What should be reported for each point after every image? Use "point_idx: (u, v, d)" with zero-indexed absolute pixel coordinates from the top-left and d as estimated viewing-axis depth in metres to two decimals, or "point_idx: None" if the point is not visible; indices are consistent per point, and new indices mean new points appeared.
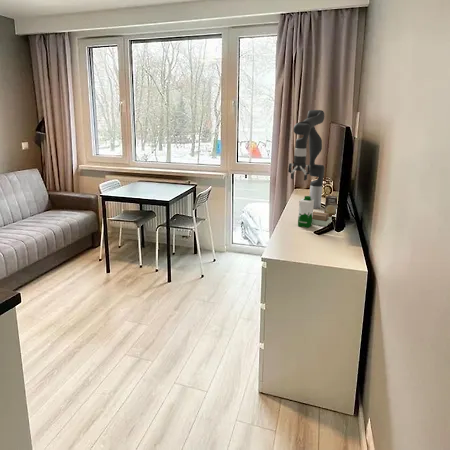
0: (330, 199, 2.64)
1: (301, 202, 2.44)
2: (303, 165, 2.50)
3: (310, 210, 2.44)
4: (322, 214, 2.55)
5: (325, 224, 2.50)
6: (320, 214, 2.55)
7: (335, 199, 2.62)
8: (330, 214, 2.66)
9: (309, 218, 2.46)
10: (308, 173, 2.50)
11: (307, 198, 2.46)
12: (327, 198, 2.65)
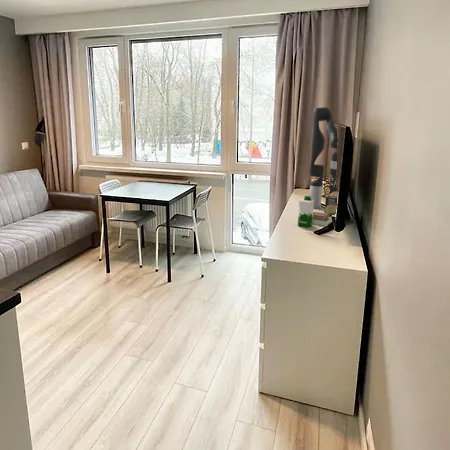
0: (330, 199, 2.64)
1: (301, 202, 2.44)
2: None
3: (310, 210, 2.44)
4: (322, 214, 2.55)
5: (325, 224, 2.50)
6: (320, 214, 2.55)
7: (335, 199, 2.62)
8: (330, 214, 2.66)
9: (309, 218, 2.46)
10: None
11: (307, 198, 2.46)
12: (327, 198, 2.65)
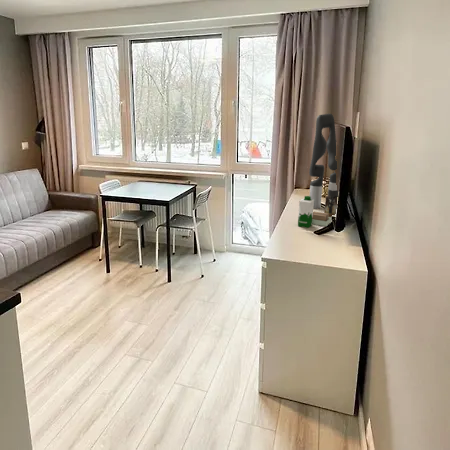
0: None
1: (301, 202, 2.44)
2: None
3: (310, 210, 2.44)
4: (322, 214, 2.55)
5: (325, 224, 2.50)
6: (320, 214, 2.55)
7: (335, 199, 2.62)
8: (330, 214, 2.66)
9: (309, 218, 2.46)
10: None
11: (307, 198, 2.46)
12: (327, 198, 2.65)
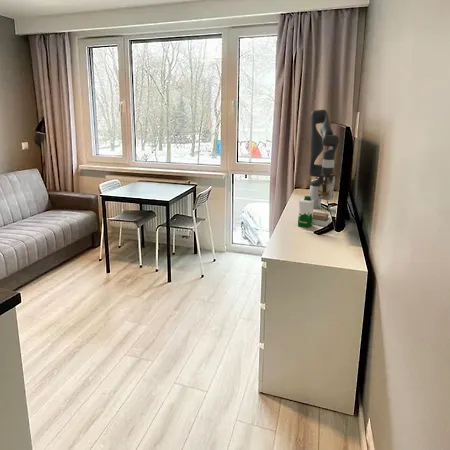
0: None
1: (301, 202, 2.44)
2: None
3: (310, 210, 2.44)
4: (322, 214, 2.55)
5: (325, 224, 2.50)
6: (320, 214, 2.55)
7: (329, 177, 2.48)
8: (324, 193, 2.53)
9: (309, 218, 2.46)
10: None
11: (307, 198, 2.46)
12: (321, 176, 2.51)
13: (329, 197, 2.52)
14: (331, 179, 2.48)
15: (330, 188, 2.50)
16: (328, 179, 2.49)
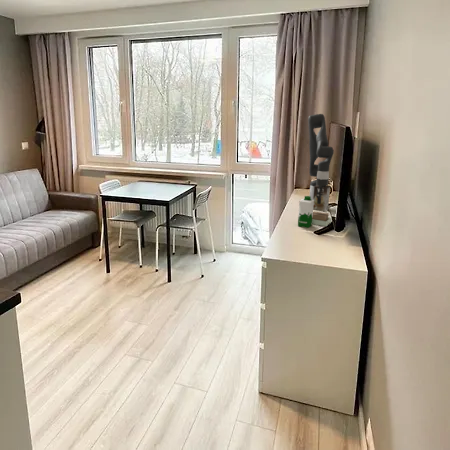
0: None
1: (301, 202, 2.44)
2: None
3: (310, 210, 2.44)
4: (322, 214, 2.55)
5: (325, 224, 2.50)
6: (320, 214, 2.55)
7: (324, 188, 2.48)
8: (319, 204, 2.52)
9: (309, 218, 2.46)
10: None
11: (307, 198, 2.46)
12: (315, 187, 2.50)
13: (324, 208, 2.51)
14: (326, 191, 2.47)
15: (325, 199, 2.49)
16: (323, 191, 2.48)
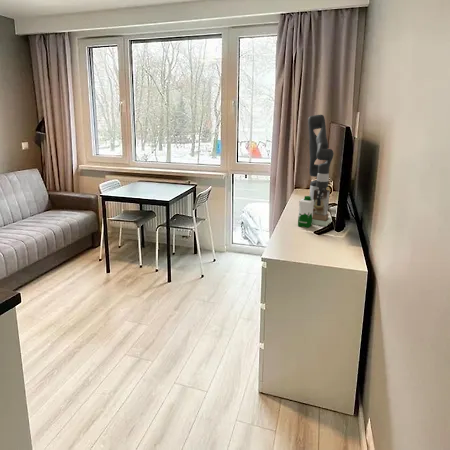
0: None
1: (301, 202, 2.44)
2: (324, 189, 2.54)
3: (310, 210, 2.44)
4: None
5: (325, 224, 2.50)
6: None
7: (324, 192, 2.48)
8: (318, 208, 2.53)
9: (309, 218, 2.46)
10: None
11: (307, 198, 2.46)
12: (315, 191, 2.51)
13: (323, 212, 2.52)
14: (325, 194, 2.48)
15: (324, 203, 2.50)
16: None
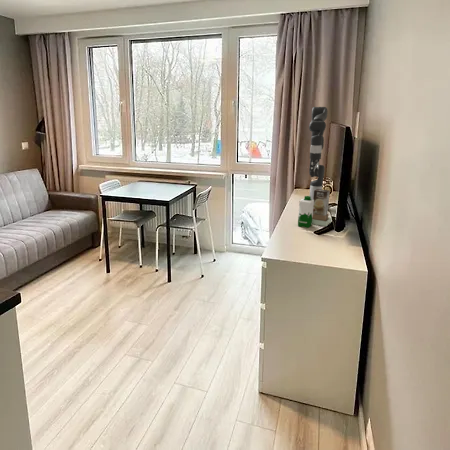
0: (318, 193, 2.50)
1: (301, 202, 2.44)
2: (317, 160, 2.60)
3: (310, 210, 2.44)
4: None
5: (325, 224, 2.50)
6: None
7: (324, 192, 2.48)
8: (318, 208, 2.53)
9: (309, 218, 2.46)
10: (319, 167, 2.65)
11: (307, 198, 2.46)
12: (315, 192, 2.51)
13: (323, 212, 2.52)
14: (325, 195, 2.48)
15: (324, 203, 2.50)
16: (322, 195, 2.49)
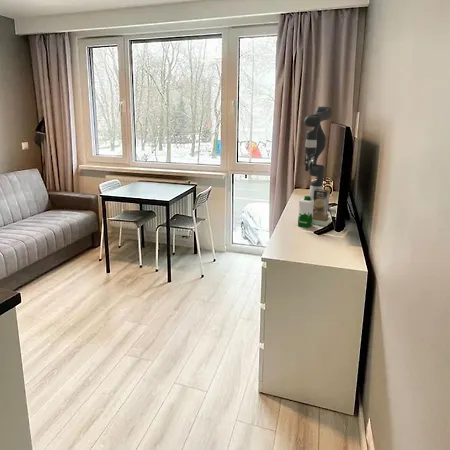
0: (318, 193, 2.50)
1: (301, 202, 2.44)
2: (312, 155, 2.66)
3: (310, 210, 2.44)
4: None
5: (325, 224, 2.50)
6: None
7: (324, 192, 2.48)
8: (318, 208, 2.53)
9: (309, 218, 2.46)
10: (314, 161, 2.70)
11: (307, 198, 2.46)
12: (315, 192, 2.51)
13: (323, 212, 2.52)
14: (325, 195, 2.48)
15: (324, 203, 2.50)
16: (322, 195, 2.49)
